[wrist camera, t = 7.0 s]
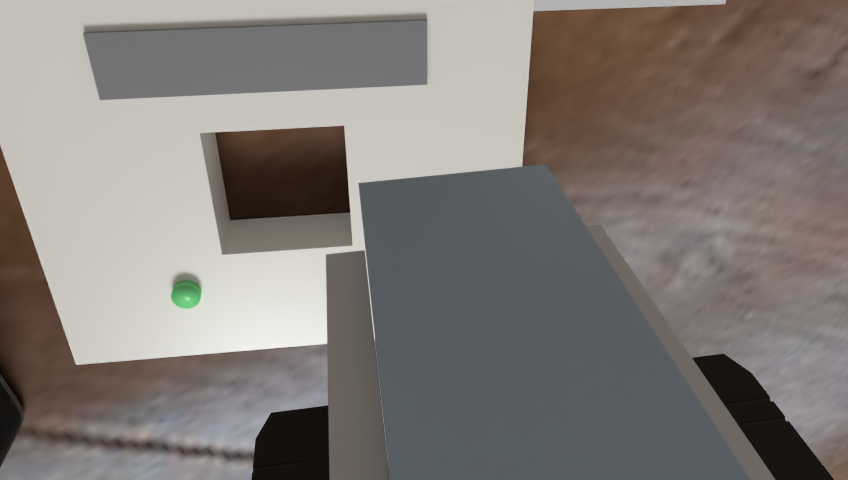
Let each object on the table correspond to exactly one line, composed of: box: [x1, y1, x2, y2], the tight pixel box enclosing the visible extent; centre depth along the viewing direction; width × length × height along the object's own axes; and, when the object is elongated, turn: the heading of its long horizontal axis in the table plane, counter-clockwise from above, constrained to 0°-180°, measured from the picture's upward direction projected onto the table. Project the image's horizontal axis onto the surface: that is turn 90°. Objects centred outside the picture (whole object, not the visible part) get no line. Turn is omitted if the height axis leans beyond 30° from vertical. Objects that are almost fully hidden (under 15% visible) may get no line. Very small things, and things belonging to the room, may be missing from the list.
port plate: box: [0, 0, 534, 365], centre depth 29 cm, size 16×20×3 cm
